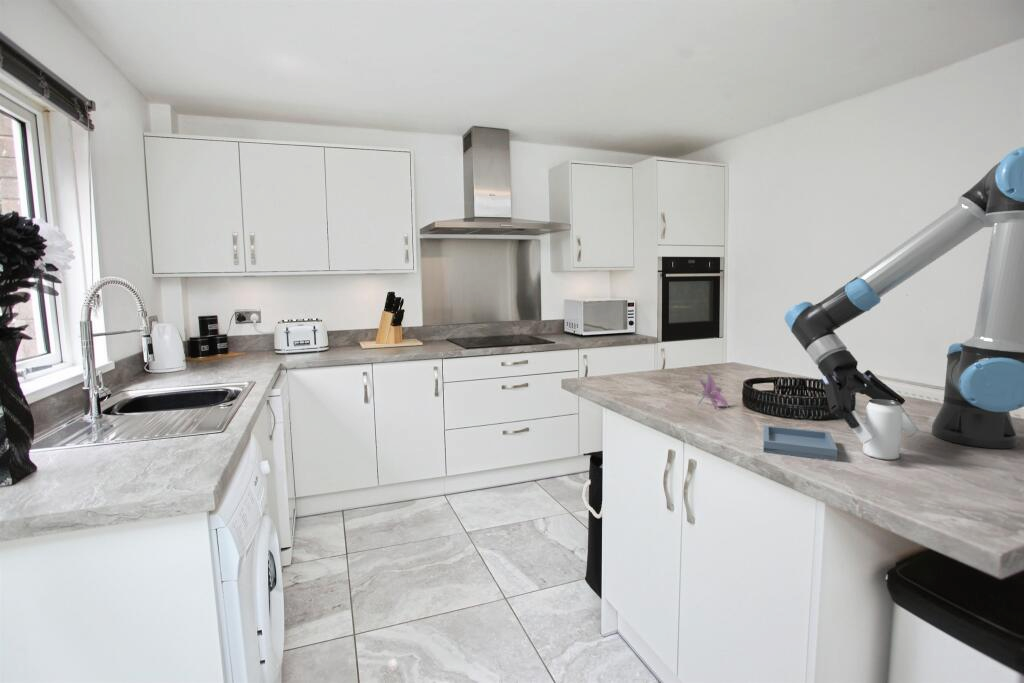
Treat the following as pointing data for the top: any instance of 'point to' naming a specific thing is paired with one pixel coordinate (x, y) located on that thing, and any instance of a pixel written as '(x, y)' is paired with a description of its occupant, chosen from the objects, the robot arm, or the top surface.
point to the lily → (712, 392)
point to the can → (883, 429)
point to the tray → (799, 442)
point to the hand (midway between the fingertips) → (891, 437)
